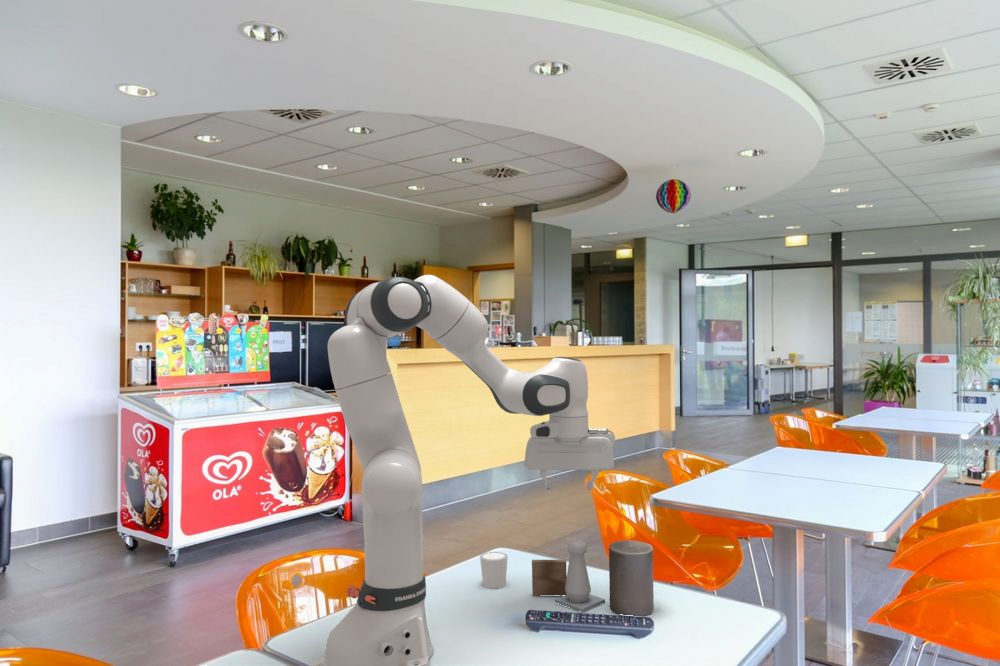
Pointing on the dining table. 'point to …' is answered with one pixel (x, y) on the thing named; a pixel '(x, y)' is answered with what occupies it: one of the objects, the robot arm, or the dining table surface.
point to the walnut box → (548, 577)
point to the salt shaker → (577, 573)
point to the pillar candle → (631, 578)
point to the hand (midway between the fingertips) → (569, 489)
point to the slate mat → (582, 607)
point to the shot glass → (494, 569)
